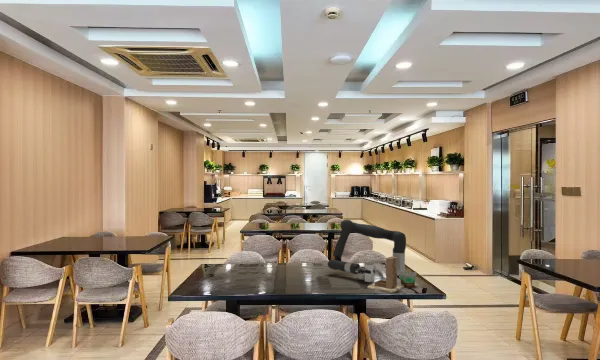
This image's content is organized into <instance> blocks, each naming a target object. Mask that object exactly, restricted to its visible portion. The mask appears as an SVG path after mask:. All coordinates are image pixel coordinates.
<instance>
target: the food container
mask: <svg viewBox="0 0 600 360" xmlns="http://www.w3.org/2000/svg"><path fill="white" fill-rule="evenodd" d="M399 275H400V276H399V279H400V285H401V286H404V288H408V289H411V288H412V289H413V288H415V286H416V285H415V284H416V276H417V272H416V271H414V272H411V271H410V272H408V271H407V272H406V271H405V273H402V272H400V273H399Z"/></svg>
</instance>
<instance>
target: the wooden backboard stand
mask: <svg viewBox="0 0 600 360" xmlns="http://www.w3.org/2000/svg"><path fill="white" fill-rule="evenodd" d="M385 260H386V261H385V262H386V264H385V280H384V279H379V280H377V281H374V283H373V284H369V285H368V286H367V287H366V288H367V289H370V290H376V291H380V292H385V293H388V294H393V293H396V292H398V291H400V290H402V289H404V288H405V287H404V286H401V284H398V276H397V257H393V256H390V257H386V258H385Z"/></svg>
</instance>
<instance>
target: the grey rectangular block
mask: <svg viewBox="0 0 600 360" xmlns="http://www.w3.org/2000/svg"><path fill="white" fill-rule="evenodd" d="M374 263H375V262H372V261H371V262H370V261H366V262H364V267H365V270H369V271H371V274H367V273H364V282H367V283H372V282H375V281H374V273H375V272H374V270H375V267H374Z"/></svg>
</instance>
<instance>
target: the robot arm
mask: <svg viewBox="0 0 600 360" xmlns="http://www.w3.org/2000/svg"><path fill="white" fill-rule="evenodd" d="M339 227H340V229H341V231H340V235H339V237H338V239H337V242H336V244H335V246H334V250H333V253H332V256H333V257H334V258H333V259H329V260H328V262H327V268H329V269H331V270H334V271H335V270H337V271H342V272H346V273H350V274H355V275H358V274H362V275H363V274H364V275H365V273H367V274H371V271H369V270H365V266H363V265H360V264H359V263H356V262H347V261H342V256H343V253H344V250H345V247H346V244H347V241H348V239H349V236H350V235H351V233H357V234H359V235H362V236H365V237H369V238H373V239H383V240H388V241H391V242H393V247H392V257H397V277H400V275H399V273H400V272H402V273H406V271H405V268H406V264H405V263H406V258H405V257H406V249H407V237H406V234H405V233H403V232H401V231H397V230H391V229H390V230H389V229H385V228H382V227H380V226H376V225H372V224H365V223H357V222H353V220H351V219H343V220H342V221H341V222H340V223H339ZM375 272H376V271H375V269H374V273H375Z"/></svg>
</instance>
